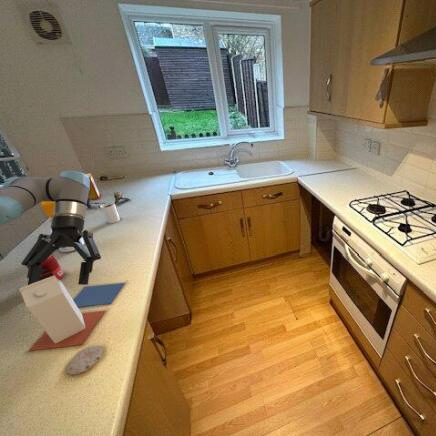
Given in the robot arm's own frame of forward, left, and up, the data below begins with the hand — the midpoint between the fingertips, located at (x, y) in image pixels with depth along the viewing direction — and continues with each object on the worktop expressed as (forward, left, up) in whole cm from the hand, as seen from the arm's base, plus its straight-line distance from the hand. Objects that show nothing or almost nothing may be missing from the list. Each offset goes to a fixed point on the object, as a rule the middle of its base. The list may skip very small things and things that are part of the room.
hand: (58, 287), depth 70 cm
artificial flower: (-39, +96, -14) cm, 105 cm away
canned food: (-23, +22, -14) cm, 35 cm away
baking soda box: (-57, +110, -14) cm, 125 cm away
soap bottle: (-30, +45, -14) cm, 56 cm away
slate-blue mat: (0, +10, -14) cm, 17 cm away
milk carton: (0, -4, -14) cm, 14 cm away
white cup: (-24, +70, -14) cm, 76 cm away
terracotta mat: (0, -4, -14) cm, 14 cm away
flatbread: (+11, -15, -14) cm, 23 cm away
